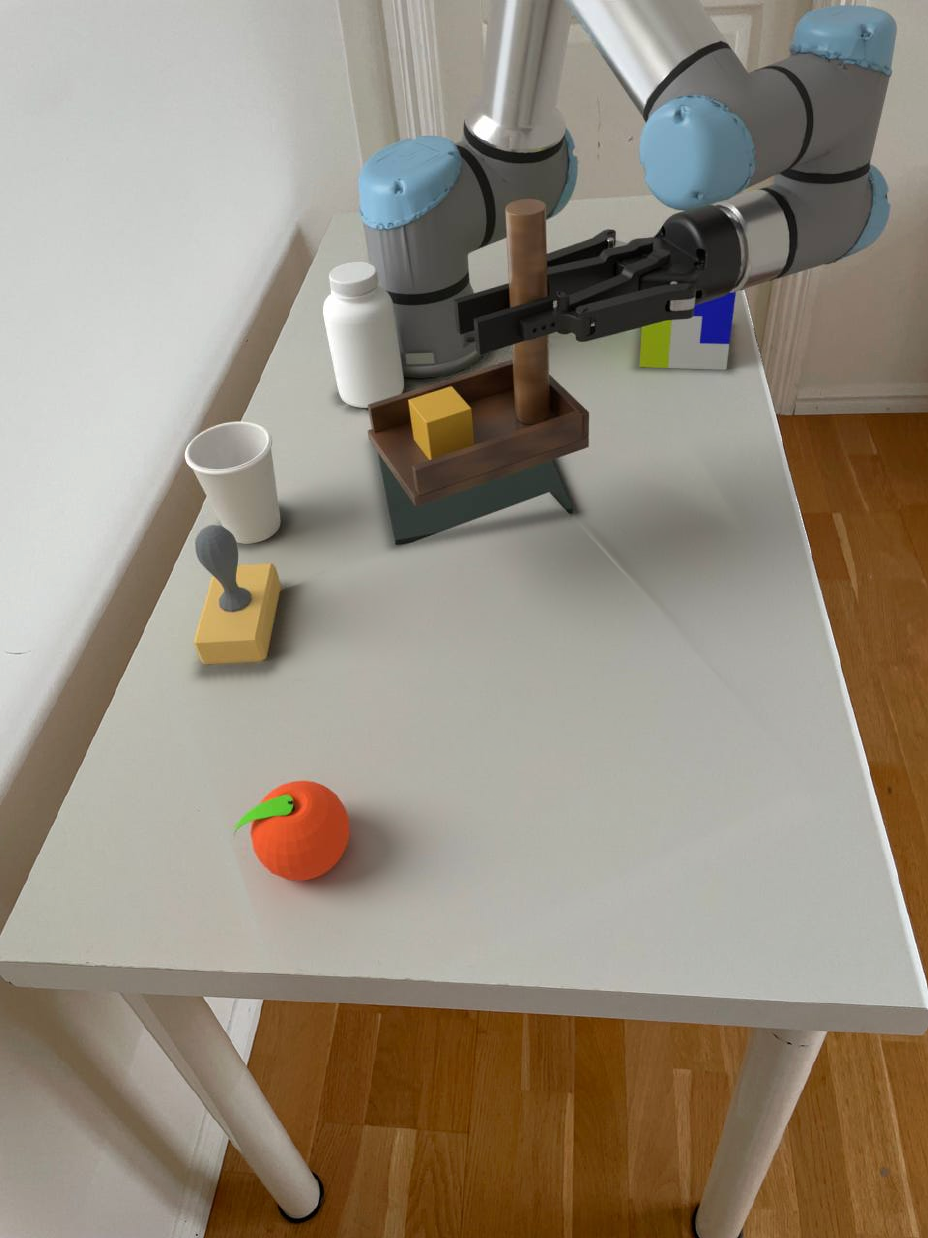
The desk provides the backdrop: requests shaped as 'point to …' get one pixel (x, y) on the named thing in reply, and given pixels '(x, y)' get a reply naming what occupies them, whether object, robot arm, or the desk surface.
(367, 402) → the pill bottle
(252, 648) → the rubber stamp
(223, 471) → the dixie cup
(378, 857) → the desk surface
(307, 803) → the clementine
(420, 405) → the block
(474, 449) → the wooden peg tray
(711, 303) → the puzzle toy
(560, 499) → the mat
